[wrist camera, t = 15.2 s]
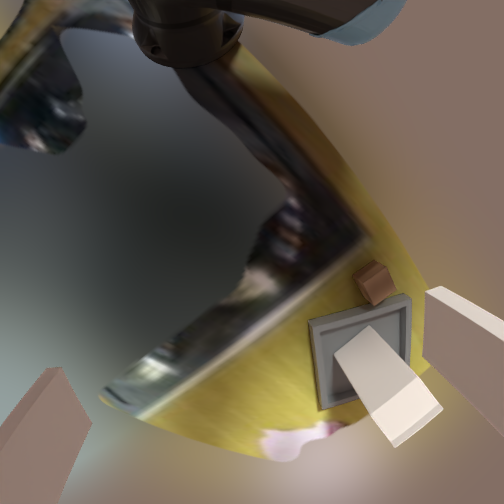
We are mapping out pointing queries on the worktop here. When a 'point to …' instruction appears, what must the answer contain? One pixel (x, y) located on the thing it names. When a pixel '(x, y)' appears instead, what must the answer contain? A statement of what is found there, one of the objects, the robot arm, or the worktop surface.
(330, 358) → the tray
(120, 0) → the worktop surface
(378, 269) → the walnut block
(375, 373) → the milk carton
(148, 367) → the worktop surface
